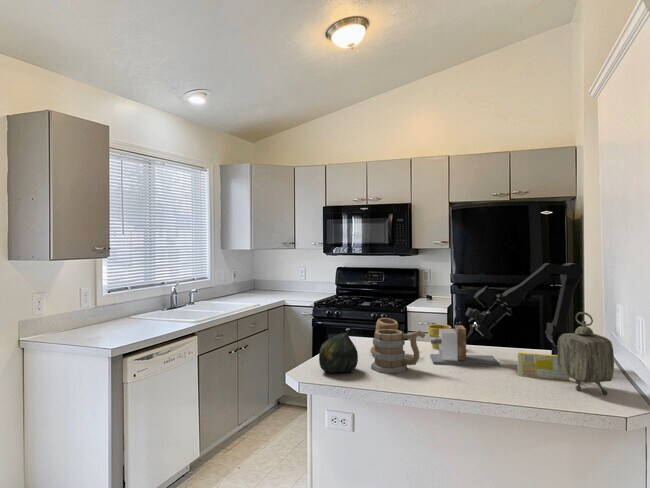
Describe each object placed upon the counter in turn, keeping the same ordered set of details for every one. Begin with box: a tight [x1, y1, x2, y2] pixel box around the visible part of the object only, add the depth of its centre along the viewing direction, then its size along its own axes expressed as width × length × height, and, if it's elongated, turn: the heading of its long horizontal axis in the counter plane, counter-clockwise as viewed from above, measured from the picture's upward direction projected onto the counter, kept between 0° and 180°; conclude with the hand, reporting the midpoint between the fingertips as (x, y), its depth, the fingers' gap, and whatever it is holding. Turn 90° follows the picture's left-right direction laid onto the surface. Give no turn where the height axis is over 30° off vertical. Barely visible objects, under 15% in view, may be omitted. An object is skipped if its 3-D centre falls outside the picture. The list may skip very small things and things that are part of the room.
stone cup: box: [369, 317, 399, 354], centre depth 194 cm, size 15×12×15 cm
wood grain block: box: [430, 324, 467, 360], centre depth 180 cm, size 13×8×12 cm, turn 82°
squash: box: [318, 332, 359, 374], centre depth 167 cm, size 14×15×15 cm
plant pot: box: [427, 324, 452, 350], centre depth 202 cm, size 10×10×10 cm
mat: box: [429, 353, 501, 367], centre depth 180 cm, size 25×12×1 cm, turn 82°
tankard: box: [370, 329, 426, 374], centre depth 169 cm, size 20×13×15 cm, turn 70°
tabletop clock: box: [557, 311, 615, 396], centre depth 143 cm, size 14×9×25 cm, turn 12°
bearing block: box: [438, 328, 458, 361], centre depth 180 cm, size 6×9×11 cm, turn 172°
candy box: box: [517, 351, 570, 382], centre depth 157 cm, size 16×2×8 cm, turn 65°
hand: (464, 342), depth 179 cm, fingers closed, pressing on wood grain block
